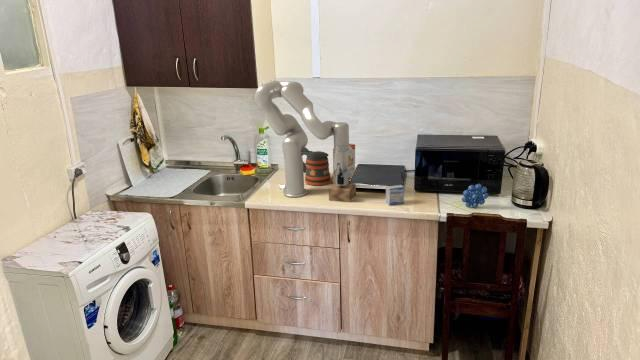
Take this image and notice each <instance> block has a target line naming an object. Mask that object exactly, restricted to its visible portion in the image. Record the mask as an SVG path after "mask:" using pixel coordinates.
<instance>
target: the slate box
mask: <svg viewBox="0 0 640 360" xmlns="http://www.w3.org/2000/svg"><path fill="white" fill-rule="evenodd" d="M340 171H341V170H340ZM336 172H337V171H336ZM340 173H341V172H340ZM343 177H344V184H343V185H340V184H337V173H336V185H340V186H346V185H347V184H348V170H344V171H343Z"/></svg>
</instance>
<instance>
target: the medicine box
mask: <svg viewBox="0 0 640 360" xmlns="http://www.w3.org/2000/svg"><path fill="white" fill-rule="evenodd" d="M385 203H386V204H387V205H388V206H394V205H402V204H404V203H405V186H404V185H402V184H396V185H389V186H387V185H386V186H385Z"/></svg>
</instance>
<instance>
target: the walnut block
mask: <svg viewBox="0 0 640 360" xmlns="http://www.w3.org/2000/svg"><path fill="white" fill-rule="evenodd" d="M356 188H357V184H356V183H350V182H349V183H348V184H347V185H346V186H340V185H336V182H335V183H334V184H331V186H330V187H329V188H328V201H329V202H330V201H331V202H341V203H342V202H343V203H351V202H352V201H353V199H354V198H355V197H356V194H357V190H356Z"/></svg>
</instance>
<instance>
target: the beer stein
mask: <svg viewBox="0 0 640 360" xmlns="http://www.w3.org/2000/svg"><path fill="white" fill-rule="evenodd" d="M301 154H302V157H303V156H304V155H305V156H306V158H305V162H304V161H303V173H304V183H305V184H306V185H309V186H313V187H320V186H326V185H329V184H330V183H331V182H332V179H331V178H332V177H331V172H330V162H329V154H328V153H327V152H325V151H321V150H320V151H319V150H317V151H314V150H313V151H312V150H309V149H308V148H307V147H306V146H305V147H304V148H303V149H301Z"/></svg>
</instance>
